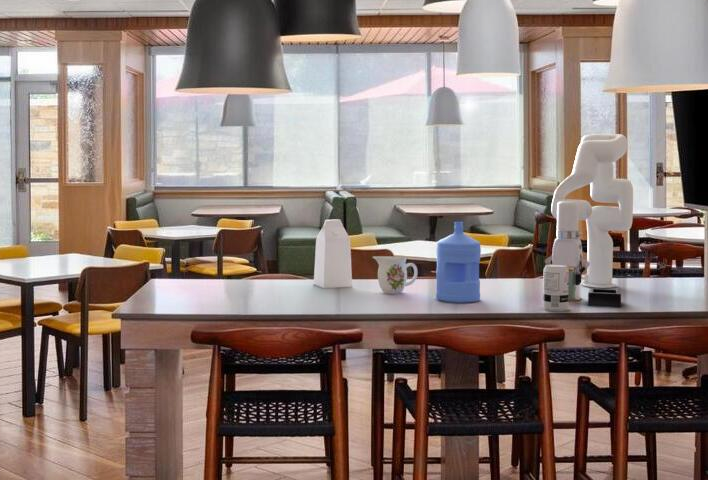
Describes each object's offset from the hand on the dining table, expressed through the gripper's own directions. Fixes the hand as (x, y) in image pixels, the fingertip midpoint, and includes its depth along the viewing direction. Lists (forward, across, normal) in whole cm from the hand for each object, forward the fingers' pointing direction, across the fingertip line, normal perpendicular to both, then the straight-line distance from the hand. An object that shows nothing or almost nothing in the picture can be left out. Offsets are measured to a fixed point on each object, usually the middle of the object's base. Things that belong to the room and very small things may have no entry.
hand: (566, 283), depth 351 cm
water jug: (+6, +31, +25) cm, 40 cm away
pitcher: (+6, +58, +23) cm, 63 cm away
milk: (+6, +87, +21) cm, 90 cm away
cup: (+5, 0, 0) cm, 5 cm away
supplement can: (+6, -5, +25) cm, 26 cm away
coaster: (+5, 0, 0) cm, 5 cm away
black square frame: (+5, -15, +4) cm, 16 cm away
